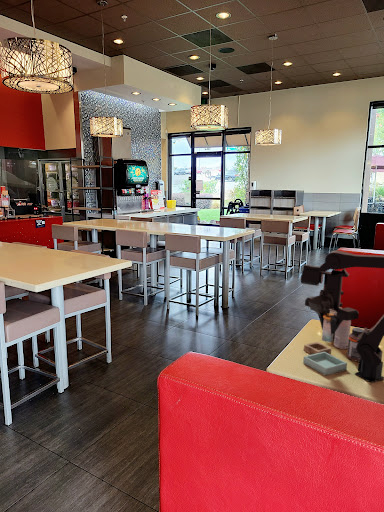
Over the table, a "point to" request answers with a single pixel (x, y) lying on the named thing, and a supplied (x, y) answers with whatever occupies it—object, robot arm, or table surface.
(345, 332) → the energy drink
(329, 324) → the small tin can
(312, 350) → the wooden square frame
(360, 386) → the table surface
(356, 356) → the supplement bottle
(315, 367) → the tray
